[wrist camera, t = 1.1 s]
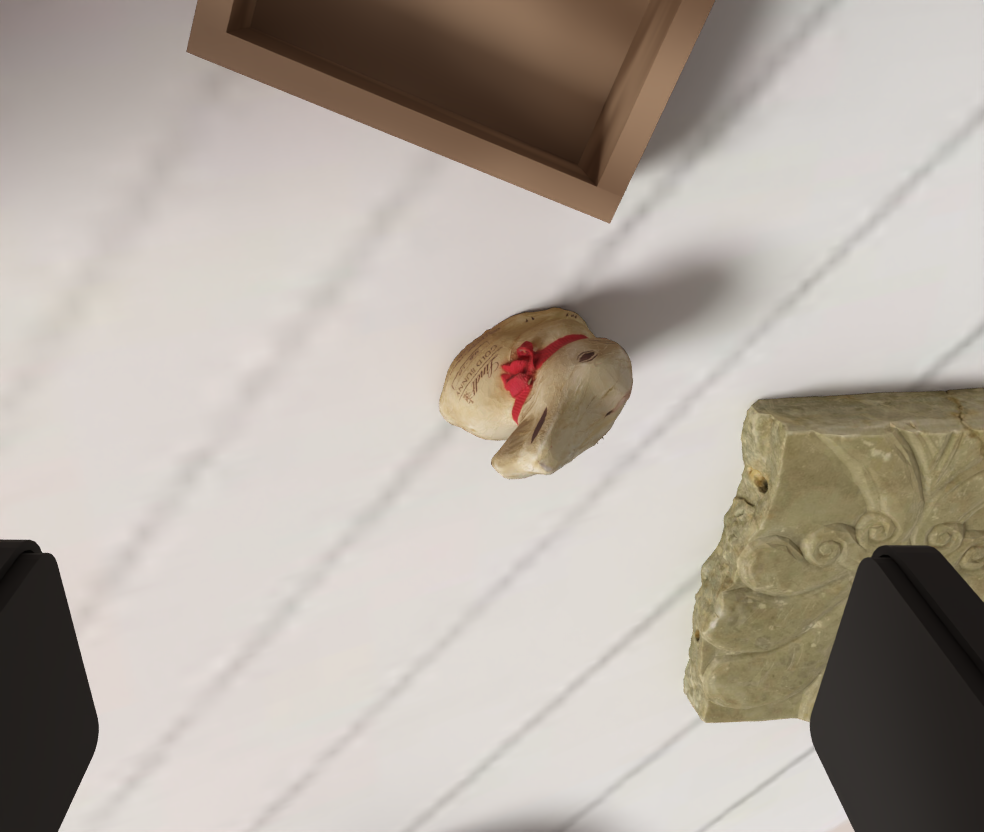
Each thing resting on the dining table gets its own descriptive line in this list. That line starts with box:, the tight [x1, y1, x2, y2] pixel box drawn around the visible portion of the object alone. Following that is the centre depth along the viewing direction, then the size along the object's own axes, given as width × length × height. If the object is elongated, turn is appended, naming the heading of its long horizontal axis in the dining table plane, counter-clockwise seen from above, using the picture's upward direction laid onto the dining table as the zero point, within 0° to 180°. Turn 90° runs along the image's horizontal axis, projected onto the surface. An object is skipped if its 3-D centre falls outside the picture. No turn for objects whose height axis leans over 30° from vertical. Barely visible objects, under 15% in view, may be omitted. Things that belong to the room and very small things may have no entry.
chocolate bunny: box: [439, 308, 633, 479], centre depth 32 cm, size 6×8×10 cm
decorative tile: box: [684, 388, 984, 723], centre depth 43 cm, size 19×20×4 cm
